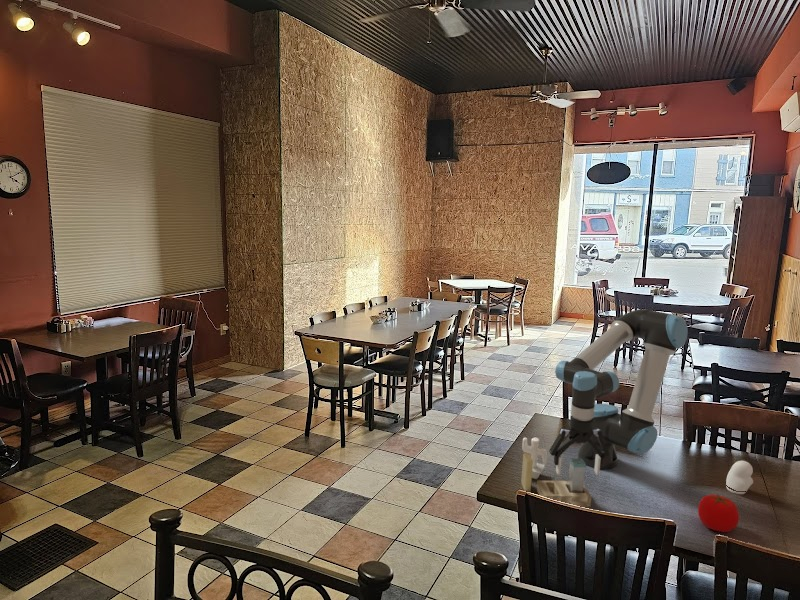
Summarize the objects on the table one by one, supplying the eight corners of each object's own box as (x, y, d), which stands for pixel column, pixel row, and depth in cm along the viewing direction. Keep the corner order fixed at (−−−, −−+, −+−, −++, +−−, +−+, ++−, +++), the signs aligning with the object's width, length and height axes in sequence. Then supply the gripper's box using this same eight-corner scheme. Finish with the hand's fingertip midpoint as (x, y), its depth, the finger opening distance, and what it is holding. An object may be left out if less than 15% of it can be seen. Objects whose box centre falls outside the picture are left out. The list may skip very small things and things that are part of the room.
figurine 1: (543, 482, 197) (546, 445, 194) (518, 476, 201) (520, 439, 198) (547, 474, 203) (550, 438, 200) (523, 468, 207) (525, 432, 205)
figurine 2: (741, 497, 190) (746, 467, 188) (721, 487, 197) (725, 457, 194) (753, 493, 193) (758, 463, 191) (732, 483, 200) (737, 454, 198)
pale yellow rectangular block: (526, 483, 196) (528, 453, 194) (530, 491, 191) (532, 461, 188) (521, 483, 196) (523, 453, 194) (525, 491, 191) (527, 461, 188)
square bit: (578, 494, 189) (581, 458, 186) (582, 501, 185) (585, 464, 182) (566, 494, 189) (570, 458, 186) (570, 500, 185) (573, 464, 182)
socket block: (580, 491, 192) (581, 481, 191) (590, 507, 182) (591, 496, 181) (536, 490, 192) (537, 480, 191) (544, 506, 182) (545, 495, 181)
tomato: (699, 533, 169) (703, 503, 167) (693, 512, 180) (697, 484, 178) (740, 542, 165) (745, 511, 163) (731, 520, 176) (736, 491, 174)
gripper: (613, 412, 185) (608, 467, 189) (542, 411, 184) (539, 467, 189) (622, 421, 177) (617, 478, 182) (548, 421, 177) (544, 478, 181)
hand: (577, 473), depth 185 cm, fingers open, 13 cm apart
